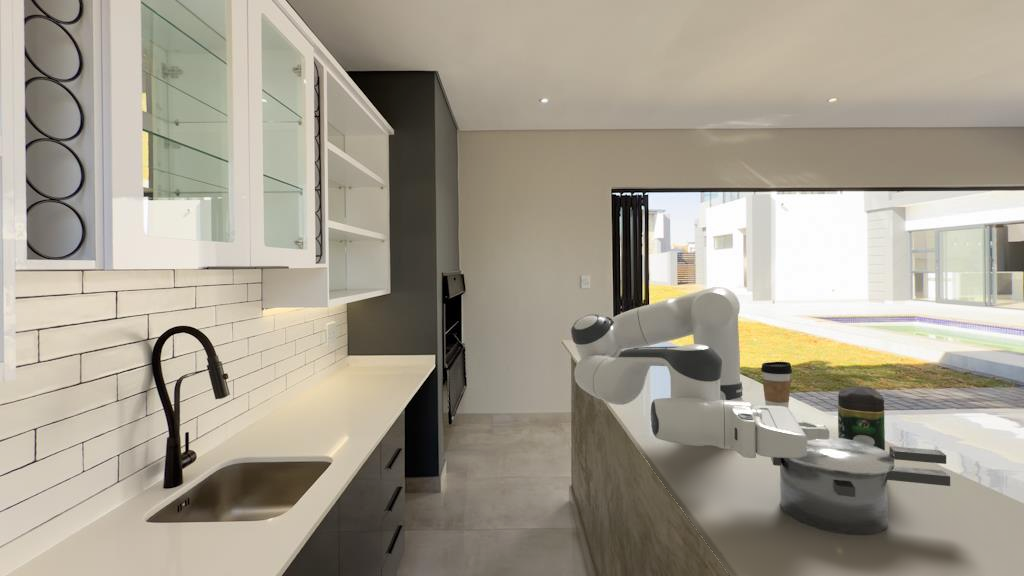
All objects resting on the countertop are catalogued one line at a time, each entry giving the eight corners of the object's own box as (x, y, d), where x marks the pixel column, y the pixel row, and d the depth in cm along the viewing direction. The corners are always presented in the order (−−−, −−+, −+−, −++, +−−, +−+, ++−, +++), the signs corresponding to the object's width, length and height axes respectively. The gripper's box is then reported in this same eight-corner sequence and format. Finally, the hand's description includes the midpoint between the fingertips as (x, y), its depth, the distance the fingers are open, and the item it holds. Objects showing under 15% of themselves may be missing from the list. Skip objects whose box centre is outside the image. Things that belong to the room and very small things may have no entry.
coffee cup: (798, 415, 150) (797, 365, 150) (769, 416, 150) (769, 365, 150) (783, 408, 159) (783, 360, 158) (756, 408, 159) (755, 361, 159)
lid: (774, 437, 101) (774, 426, 101) (922, 449, 92) (922, 437, 92) (786, 468, 85) (786, 455, 85) (967, 486, 76) (967, 471, 76)
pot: (766, 481, 103) (765, 433, 103) (921, 499, 94) (921, 445, 94) (779, 532, 83) (779, 472, 83) (979, 560, 74) (979, 492, 74)
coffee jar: (838, 466, 111) (837, 381, 110) (883, 473, 106) (882, 385, 106) (839, 482, 102) (837, 391, 102) (887, 490, 98) (886, 395, 98)
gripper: (737, 426, 103) (815, 432, 98) (745, 461, 84) (842, 471, 79) (737, 395, 103) (815, 400, 98) (745, 423, 84) (842, 431, 79)
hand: (827, 432), depth 89 cm, fingers closed
